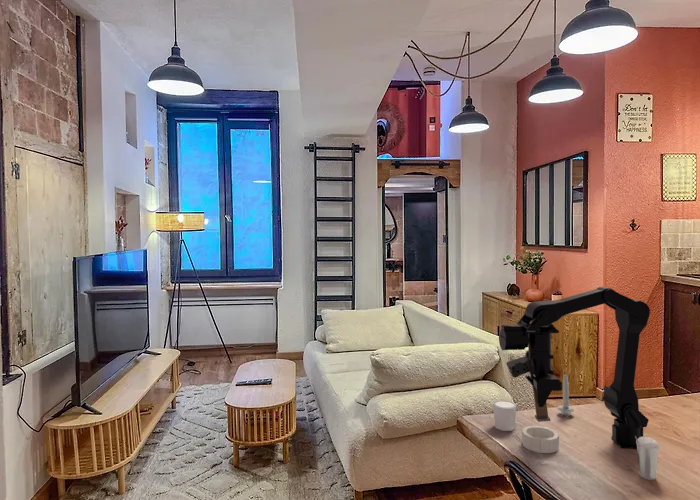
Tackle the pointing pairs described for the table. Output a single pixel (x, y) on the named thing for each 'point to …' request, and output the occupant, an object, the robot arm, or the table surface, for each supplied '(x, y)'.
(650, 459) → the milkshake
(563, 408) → the screw
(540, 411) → the brown wooden handle
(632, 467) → the table surface
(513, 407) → the white tapered cylinder
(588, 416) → the table surface
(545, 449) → the white bowl
